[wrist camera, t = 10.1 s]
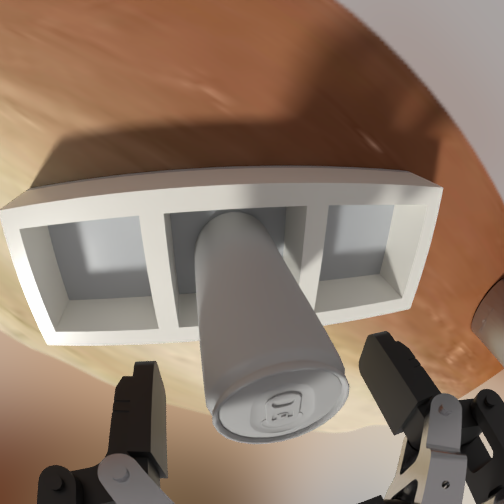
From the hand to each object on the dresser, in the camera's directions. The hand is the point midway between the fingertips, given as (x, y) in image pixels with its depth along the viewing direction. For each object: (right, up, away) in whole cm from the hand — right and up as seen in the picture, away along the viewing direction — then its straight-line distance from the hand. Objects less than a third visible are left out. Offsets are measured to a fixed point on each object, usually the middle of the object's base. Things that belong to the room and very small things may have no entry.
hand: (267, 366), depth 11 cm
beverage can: (-2, +5, +9) cm, 10 cm away
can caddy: (-2, +5, +9) cm, 10 cm away
